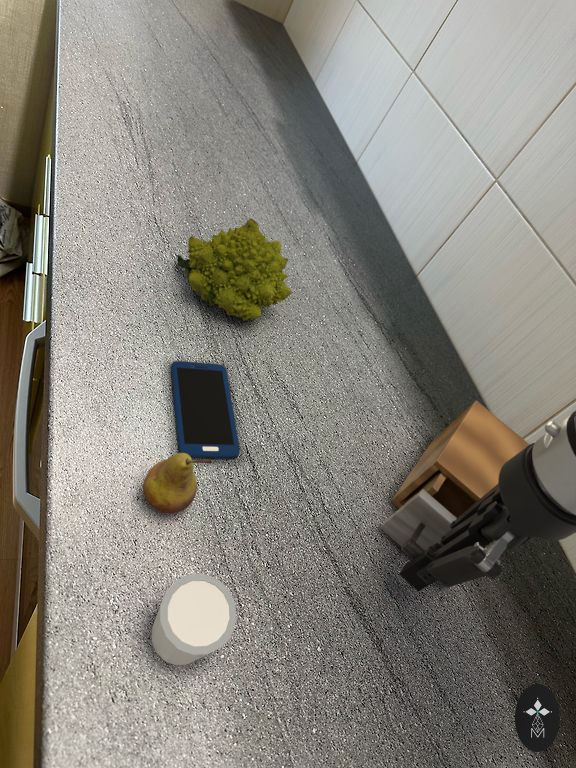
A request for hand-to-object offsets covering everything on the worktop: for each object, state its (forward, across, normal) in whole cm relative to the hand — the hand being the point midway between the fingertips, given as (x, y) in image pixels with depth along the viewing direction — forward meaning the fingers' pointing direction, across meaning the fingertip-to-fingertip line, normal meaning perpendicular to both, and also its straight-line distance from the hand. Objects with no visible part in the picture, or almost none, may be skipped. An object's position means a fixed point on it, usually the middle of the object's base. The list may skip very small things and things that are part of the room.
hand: (411, 577), depth 63 cm
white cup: (+5, +20, -15) cm, 25 cm away
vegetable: (+5, -19, -42) cm, 46 cm away
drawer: (+4, -9, 0) cm, 10 cm away
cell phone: (+5, -1, -31) cm, 31 cm away
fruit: (+5, +11, -26) cm, 29 cm away
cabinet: (+5, -17, 0) cm, 18 cm away
